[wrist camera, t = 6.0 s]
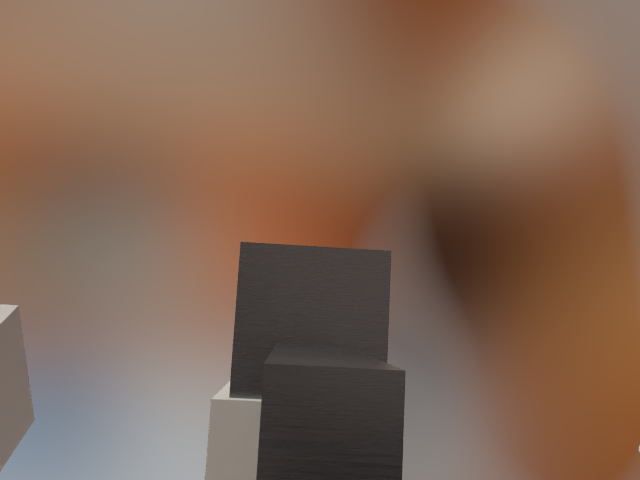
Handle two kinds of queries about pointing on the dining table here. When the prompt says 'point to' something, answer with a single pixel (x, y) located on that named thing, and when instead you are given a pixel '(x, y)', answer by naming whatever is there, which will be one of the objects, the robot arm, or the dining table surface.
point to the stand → (233, 437)
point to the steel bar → (318, 362)
